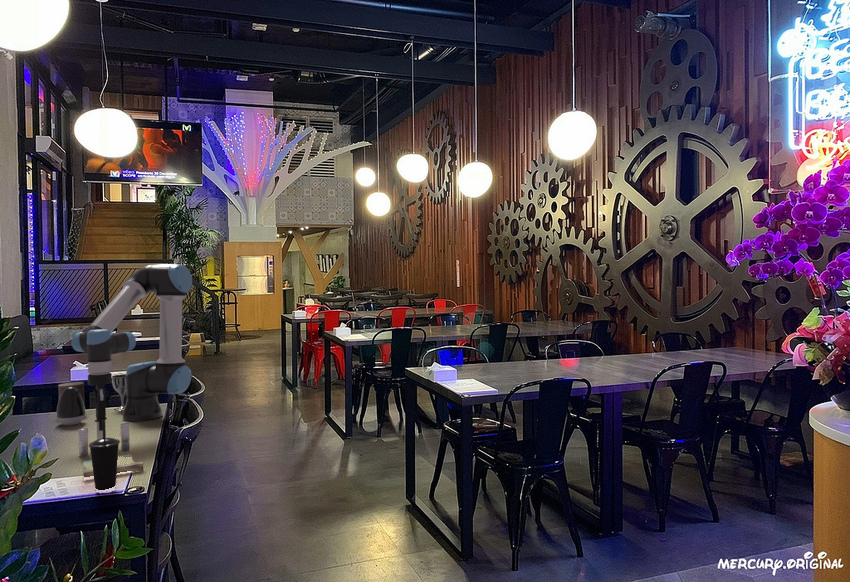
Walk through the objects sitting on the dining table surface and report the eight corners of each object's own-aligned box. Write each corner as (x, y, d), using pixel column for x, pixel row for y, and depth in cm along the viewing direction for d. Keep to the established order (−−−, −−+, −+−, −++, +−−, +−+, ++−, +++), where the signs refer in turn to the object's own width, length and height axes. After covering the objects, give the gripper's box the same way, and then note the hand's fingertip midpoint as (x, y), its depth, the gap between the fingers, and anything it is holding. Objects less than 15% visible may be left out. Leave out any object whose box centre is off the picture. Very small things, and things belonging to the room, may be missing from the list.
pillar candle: (88, 415, 266) (87, 380, 266) (63, 419, 259) (62, 383, 259) (80, 412, 273) (79, 378, 273) (55, 415, 266) (54, 381, 265)
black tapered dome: (70, 427, 244) (69, 389, 243) (50, 426, 247) (49, 388, 247) (91, 421, 254) (90, 385, 253) (72, 420, 257) (71, 384, 256)
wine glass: (134, 406, 283) (133, 373, 283) (129, 410, 275) (128, 376, 275) (116, 407, 282) (115, 374, 281) (110, 411, 274) (109, 377, 273)
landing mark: (130, 454, 207) (130, 453, 207) (136, 465, 195) (136, 464, 195) (82, 461, 199) (82, 461, 199) (85, 473, 187) (85, 472, 187)
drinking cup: (105, 485, 176) (103, 416, 176) (127, 487, 174) (125, 417, 173) (83, 494, 169) (81, 422, 168) (105, 497, 167) (104, 424, 166)
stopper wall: (142, 469, 190) (142, 461, 190) (143, 471, 189) (143, 463, 189) (83, 479, 182) (83, 470, 182) (83, 481, 180) (83, 472, 180)
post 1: (87, 454, 207) (87, 427, 207) (88, 456, 205) (87, 429, 205) (79, 455, 206) (78, 428, 206) (79, 457, 204) (78, 430, 203)
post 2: (129, 448, 214) (128, 422, 214) (130, 450, 212) (129, 424, 212) (120, 449, 213) (120, 423, 212) (121, 451, 210) (121, 425, 210)
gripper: (86, 371, 223) (88, 436, 223) (89, 376, 212) (90, 444, 212) (109, 369, 227) (111, 433, 227) (113, 374, 216) (115, 441, 216)
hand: (101, 438), depth 220 cm, fingers closed
